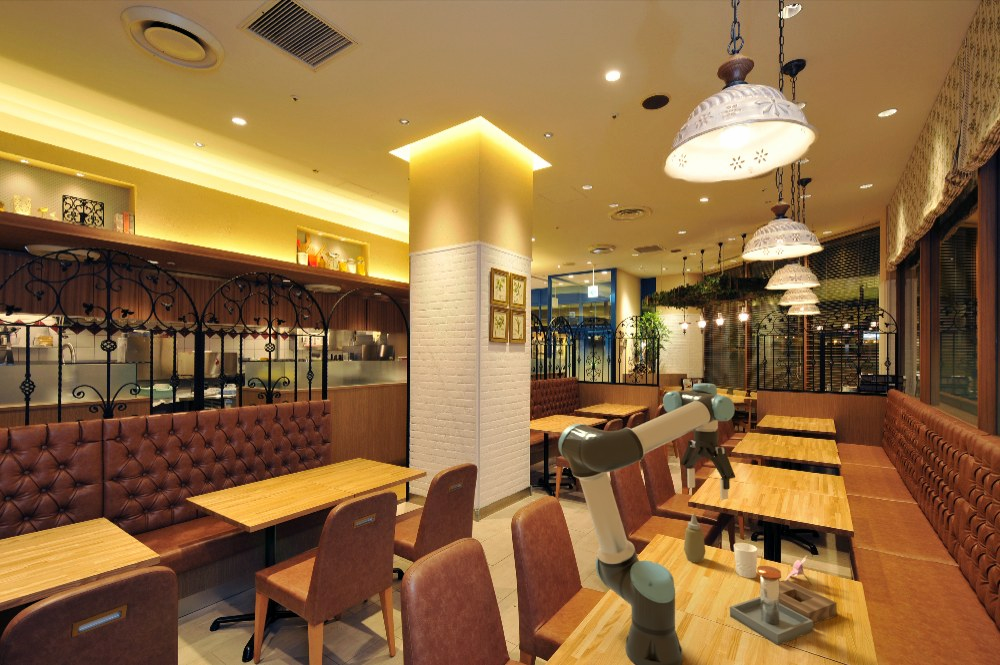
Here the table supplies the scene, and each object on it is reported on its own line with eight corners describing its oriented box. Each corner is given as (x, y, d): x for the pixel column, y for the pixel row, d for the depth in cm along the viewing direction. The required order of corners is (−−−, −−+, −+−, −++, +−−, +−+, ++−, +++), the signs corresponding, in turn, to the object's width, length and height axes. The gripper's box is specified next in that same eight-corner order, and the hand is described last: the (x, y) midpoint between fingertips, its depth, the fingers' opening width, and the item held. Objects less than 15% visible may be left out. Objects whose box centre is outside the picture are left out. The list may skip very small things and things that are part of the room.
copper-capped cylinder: (773, 628, 141) (771, 577, 142) (753, 617, 147) (752, 568, 148) (787, 623, 144) (785, 572, 144) (767, 612, 150) (766, 564, 150)
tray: (777, 645, 135) (777, 634, 135) (730, 616, 150) (729, 606, 150) (813, 630, 142) (813, 620, 142) (764, 604, 156) (764, 595, 156)
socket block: (808, 626, 144) (808, 613, 144) (760, 600, 158) (760, 588, 158) (836, 615, 150) (836, 602, 150) (788, 591, 164) (787, 579, 164)
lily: (801, 575, 177) (786, 551, 180) (830, 576, 168) (814, 550, 170) (785, 594, 171) (769, 568, 174) (814, 595, 162) (797, 568, 164)
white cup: (736, 577, 174) (735, 550, 175) (732, 567, 182) (732, 541, 182) (760, 580, 172) (759, 552, 172) (755, 570, 180) (754, 544, 180)
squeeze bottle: (687, 553, 195) (686, 509, 195) (708, 558, 190) (707, 513, 190) (681, 560, 189) (680, 515, 189) (702, 566, 184) (701, 519, 184)
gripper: (746, 434, 149) (747, 502, 148) (685, 423, 171) (686, 481, 171) (729, 436, 146) (731, 505, 145) (669, 424, 168) (671, 484, 168)
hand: (707, 493), depth 158 cm, fingers open, 13 cm apart
